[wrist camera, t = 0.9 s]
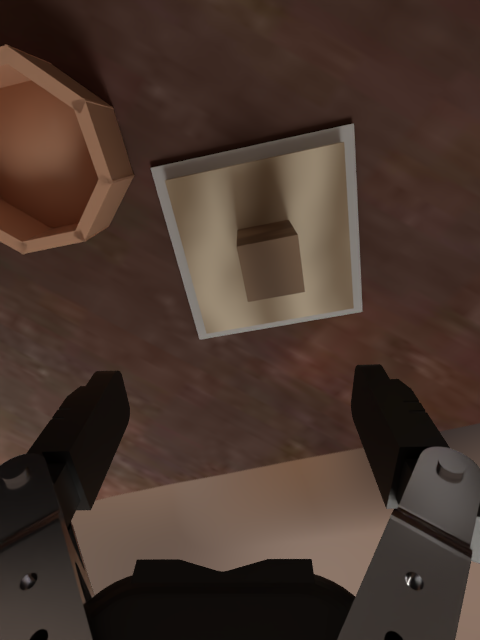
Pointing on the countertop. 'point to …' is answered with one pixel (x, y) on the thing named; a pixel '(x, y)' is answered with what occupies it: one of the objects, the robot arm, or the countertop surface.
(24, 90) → the bowl
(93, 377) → the robot arm
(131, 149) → the countertop surface
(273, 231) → the lid
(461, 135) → the countertop surface
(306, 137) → the mat
